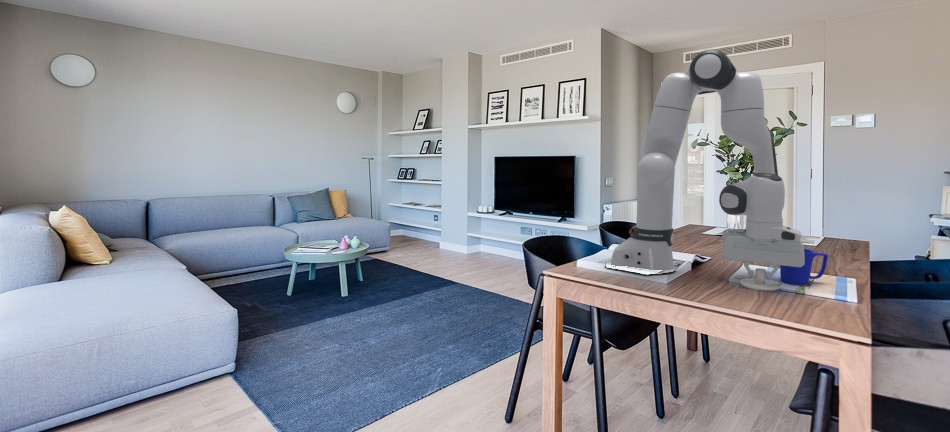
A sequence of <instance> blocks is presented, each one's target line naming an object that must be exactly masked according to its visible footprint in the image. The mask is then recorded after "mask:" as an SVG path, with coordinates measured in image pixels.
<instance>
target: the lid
mask: <svg viewBox="0 0 950 432" xmlns="http://www.w3.org/2000/svg"><path fill="white" fill-rule="evenodd" d="M754 273H755V274H754V277H746V278H741V279H739V284H740V285H742V286H744V287H746V288H750V289H749V290H752V289H754V290H753V291H759V290H762V292H767V291H776V290H779V289H780V290H781V286H782V284H781V283H779V282H777V281H773V280H770V279H767V269H765V268H755V271H754ZM780 284H781V285H780Z"/></svg>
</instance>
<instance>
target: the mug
mask: <svg viewBox="0 0 950 432" xmlns="http://www.w3.org/2000/svg"><path fill="white" fill-rule="evenodd" d="M804 254H805V264H804V265H803V266H802V267H793V266H783V265H779V273H780V274H779V275H780V276H779V277H780V281H782V282H783V283H785V284H789V285H794V286H804V285H805V286H806V285H807V284H808V283H809V281H810V279H814V280H815V279H816V280H818V279H820V278H821V277H823V275H824V273H825V270H826V268H827V263H828V259H829V258H828V257H829V254H827V253H824V252H815V251H814V250H812V249H808V248H804ZM817 256H823V259H822V264H821V268H820V271H819V273H818V274H816V275H813V276H812V275H811V273H812V272H811V271H812V267H813V263H814V262H813V261H814V258H815V257H817Z"/></svg>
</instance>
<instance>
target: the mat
mask: <svg viewBox="0 0 950 432" xmlns="http://www.w3.org/2000/svg"><path fill="white" fill-rule="evenodd" d="M779 284H780V285H781V286H782V284H781V283H779ZM738 289H746V290H753V291H755V290H754V289H750V288H746V287H744V286H742V285H740V283H739V284H738ZM758 291H762V290H758ZM762 292H763V291H762ZM766 292H768V293H774V294H775V293H776V294H781V288H780V289H779V290H776V291H766Z"/></svg>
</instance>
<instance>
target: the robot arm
mask: <svg viewBox="0 0 950 432" xmlns="http://www.w3.org/2000/svg"><path fill="white" fill-rule="evenodd" d="M712 93H717V94H718V96H719V98H720V127H721V130H722V133H723V134H724V135H725V136H726V138H727V139H729V140H730V141H732V142H734V143H737V144H738V145H741V146H743V147H744V148H745V149H747V150H748V151H749V152H750V155H751V156H752V162H753V170H754V173H753V174H751V176H749V177H748V178H746V179H744V180H742V181H739V182H736V183H735V182H733V183H732V184H728V185H725V186H724V187H723V188H722V190H721V191H720V193H719V197H718V198H719V200H718V201H719V206H720V207H721V210H722V211H723V212H724V213H725V214H727V215H731V216H745V217H746V219H745V220H746V221H745V228H744V229H742V228H731V227H730V228H729V227H728V228H727V229H725V230H723V231H722V233H721V241H722V242H723V244H722V249H721V257H722V258H723V260H725V261H726V260H728V261H736V262H743V267H744V268H745V270H746V271H747V276H746V278H754V277H755V274H754V273H755V271H754V270H753V269H751V268H750V264H751V263H757V264H765V265H772V268H773V269H772V270H771V271H768V272H767V273H766V280H771V281H773V280H774V275H775V274H776V273H777V271H778V270H780V265H783V266H793V267H802V266H803V265H804V264H805V254H804V249H805V247H804V244H803V242H802V240H801V239H802V232H800V230H799V229H796V228H793V227H789V226H786V225H784V219H783V210H784V208H785V199H786V198H785V197H786V196H785V195H786V191H785V190H786V189H785V187H786V186H785V183H784V179H783V177H781V176H779V171H778V162H777V156H776V154H777V152H776V147H775V141H774V137H773V134H772V131H770V130H769V128H768V126H767V122H766V119H765V97H764V89H763V83H762V80H761V77H760V76H759V75H758V74H756V73H753V72H750V71H741V72H740V71H739V72H738V71H737V68H736V67H735V65H734V64H733V63H732V61H731V59H730V58H729V56H728V55H727V54H726V53H724V52H723V51H721V50H718V49H712V48H711V49H705V50H703V51H701V52H699V53H698V54H696V56H694V58H693V59H692V61H691V62H690V65H689V69H688V70H687V71H686V72H672V73H670V74H668V75H666V77H664V79H663V80H662V83H661V85H660V87H659V90H658V92H657V94H656V98H655V102H654V105H653V108H652V112H651V116H650V119H649V123H648V128H647V132H646V137H645V141H644V144H643V145H644V146H643V149H642V154H641V158H640V160H639V162H638V165H637V168H636V225H633V226H632V227H631V228H630V229H629V231H628V232H629V235H630V237H628V238H627V239H625V240H624V241H623V242H621V243H620V244H619V245H617V246H616V247H615V248H614V249H613V252H612V255H611V259H608V260H607V261H606V262H608V263H611V265H615V267H616V266H628V267H635V268H644V269H649V270H671V269H674V268H675V269H676V267H675V262H674V256H673V244H674V237H675V236H674V235H675V234H674V228H673V213H674V212H673V211H674V210H673V208H674V191H675V190H674V189H675V176H676V175H675V171H676V163H677V161H678V158H679V157H678V156H679V154H680V150H681V147H682V144H683V139H684V137H685V134H686V130H687V126H688V123H689V119H690V115H691V112H692V108H693V104H694V100H695V98H696V97H697V96H698V95H704V94H705V95H706V94H712ZM613 267H614V266H613Z"/></svg>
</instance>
